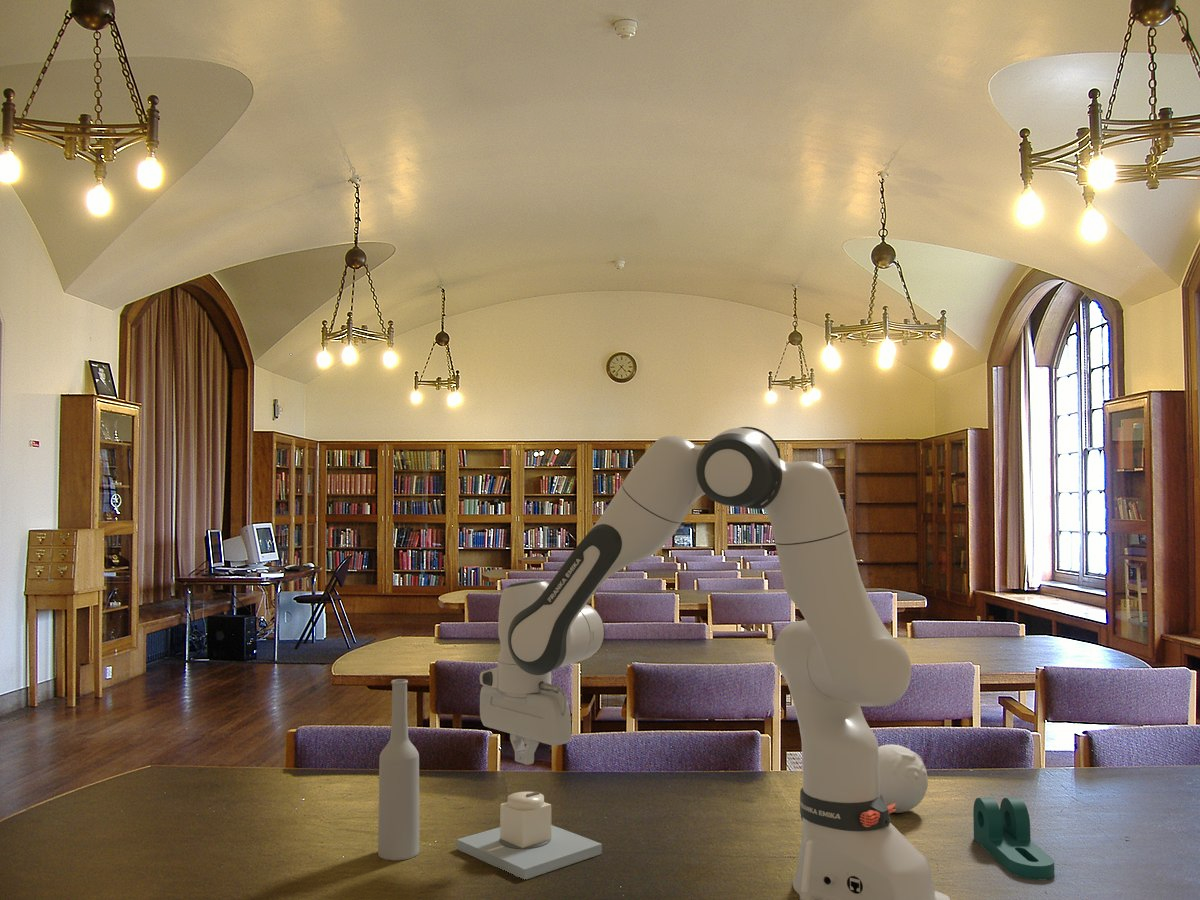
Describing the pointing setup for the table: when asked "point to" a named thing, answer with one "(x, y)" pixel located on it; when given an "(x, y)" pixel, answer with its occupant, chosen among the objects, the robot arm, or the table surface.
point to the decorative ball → (901, 777)
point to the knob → (525, 819)
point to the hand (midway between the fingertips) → (524, 762)
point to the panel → (530, 852)
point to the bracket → (1010, 837)
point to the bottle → (398, 786)
